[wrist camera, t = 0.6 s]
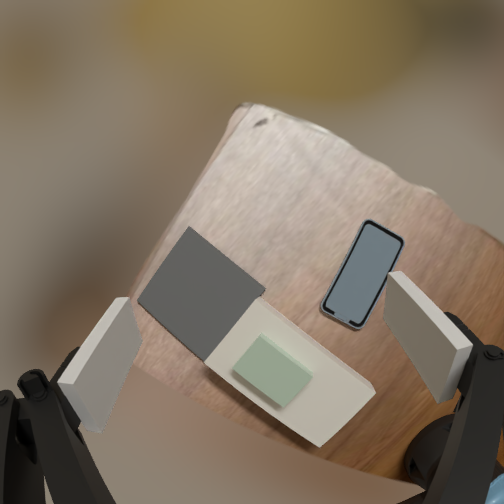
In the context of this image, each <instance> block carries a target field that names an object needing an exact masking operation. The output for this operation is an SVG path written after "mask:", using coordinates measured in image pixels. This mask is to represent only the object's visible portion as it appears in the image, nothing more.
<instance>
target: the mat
mask: <svg viewBox="0 0 504 504" xmlns="http://www.w3.org/2000/svg"><path fill="white" fill-rule="evenodd" d="M265 289H266V288H265V287H263V286H262V285H261V284H260V283H258V282H257V281H256V280H255V279H253V278H252V277H251V276H250V275H249V274H247V273H246V272H245V271H244V270H242V269H241V268H240V267H239V266H237V265H236V264H235V263H234V262H232V261H231V260H230V259H229V258H228V257H226V256H225V255H224V254H223V253H221V252H220V251H219V250H218V249H216V248H215V247H214V246H213V245H212V244H210V243H209V242H208V241H207V240H205V239H204V238H203V237H202V236H201V235H199V234H198V233H197V232H196V231H195V230H193V229H192V228H191V227H188V228H187V229H186V231H185V232H184V234H183V235H182V236H181V238H180V239H179V240H178V242H177V243H176V245H175V246H174V247H173V249H172V250H171V252H170V253H169V254H168V256H167V257H166V259H165V260H164V262H163V263H162V264H161V266H160V267H159V269H158V270H157V272H156V273H155V274H154V276H153V277H152V279H151V280H150V282H149V283H148V285H147V286H146V288H145V289H144V291H143V292H142V294H141V295H140V297H139V298H138V300H137V301H138V302H139V303H140V304H141V305H142V306H143V307H144V308H145V309H146V310H148V311H149V312H150V313H151V314H152V315H153V316H154V317H155V318H156V319H157V320H158V321H159V322H160V323H161V324H162V325H163V326H165V327H166V328H167V329H168V330H169V331H170V332H171V333H172V334H173V335H174V336H176V337H177V338H178V339H179V340H180V341H181V342H182V343H183V344H185V345H186V346H187V347H188V348H189V349H190V350H191V351H193V352H194V353H195V354H196V355H197V356H198V357H200V358H201V359H202V360H203V361H204V362H205V360H206V359H207V358H208V357H209V356H210V354H211V353H212V352H213V351H214V350H215V348H216V347H217V346H218V345H219V343H220V342H221V341H222V340H223V339H224V337H225V336H226V335H227V334H228V333H229V331H230V330H231V329H232V328H233V326H234V325H235V324H236V323H237V321H238V320H239V319H240V318H241V317H242V315H243V314H244V313H245V312H246V310H247V309H248V308H249V307H250V305H251V304H252V303H253V302H254V300H255V299H257V298H258V297H259V296H260V295H261V294H262V293H263V292H264V290H265Z"/></svg>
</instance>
